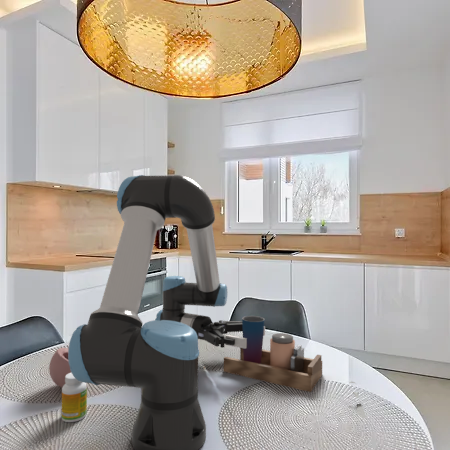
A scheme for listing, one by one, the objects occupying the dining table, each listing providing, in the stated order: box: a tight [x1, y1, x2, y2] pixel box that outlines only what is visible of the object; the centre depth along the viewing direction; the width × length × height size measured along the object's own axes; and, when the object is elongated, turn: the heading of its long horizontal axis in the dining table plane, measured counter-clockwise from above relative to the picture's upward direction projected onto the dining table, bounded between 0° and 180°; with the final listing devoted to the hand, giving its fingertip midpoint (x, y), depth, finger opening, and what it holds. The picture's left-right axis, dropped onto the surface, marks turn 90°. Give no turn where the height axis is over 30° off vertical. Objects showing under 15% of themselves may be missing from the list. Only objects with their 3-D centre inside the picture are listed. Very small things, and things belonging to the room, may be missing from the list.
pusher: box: [291, 344, 305, 373], centre depth 101 cm, size 1×9×9 cm, turn 151°
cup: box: [241, 315, 266, 364], centre depth 107 cm, size 7×7×15 cm
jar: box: [269, 332, 296, 370], centre depth 103 cm, size 7×7×11 cm
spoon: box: [348, 381, 367, 418], centre depth 89 cm, size 4×21×2 cm, turn 168°
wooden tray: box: [223, 348, 323, 393], centre depth 104 cm, size 26×12×7 cm, turn 61°
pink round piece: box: [48, 347, 72, 389], centre depth 97 cm, size 12×12×12 cm
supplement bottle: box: [61, 373, 88, 423], centre depth 82 cm, size 5×5×10 cm
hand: (255, 337), depth 107 cm, fingers open, 13 cm apart
